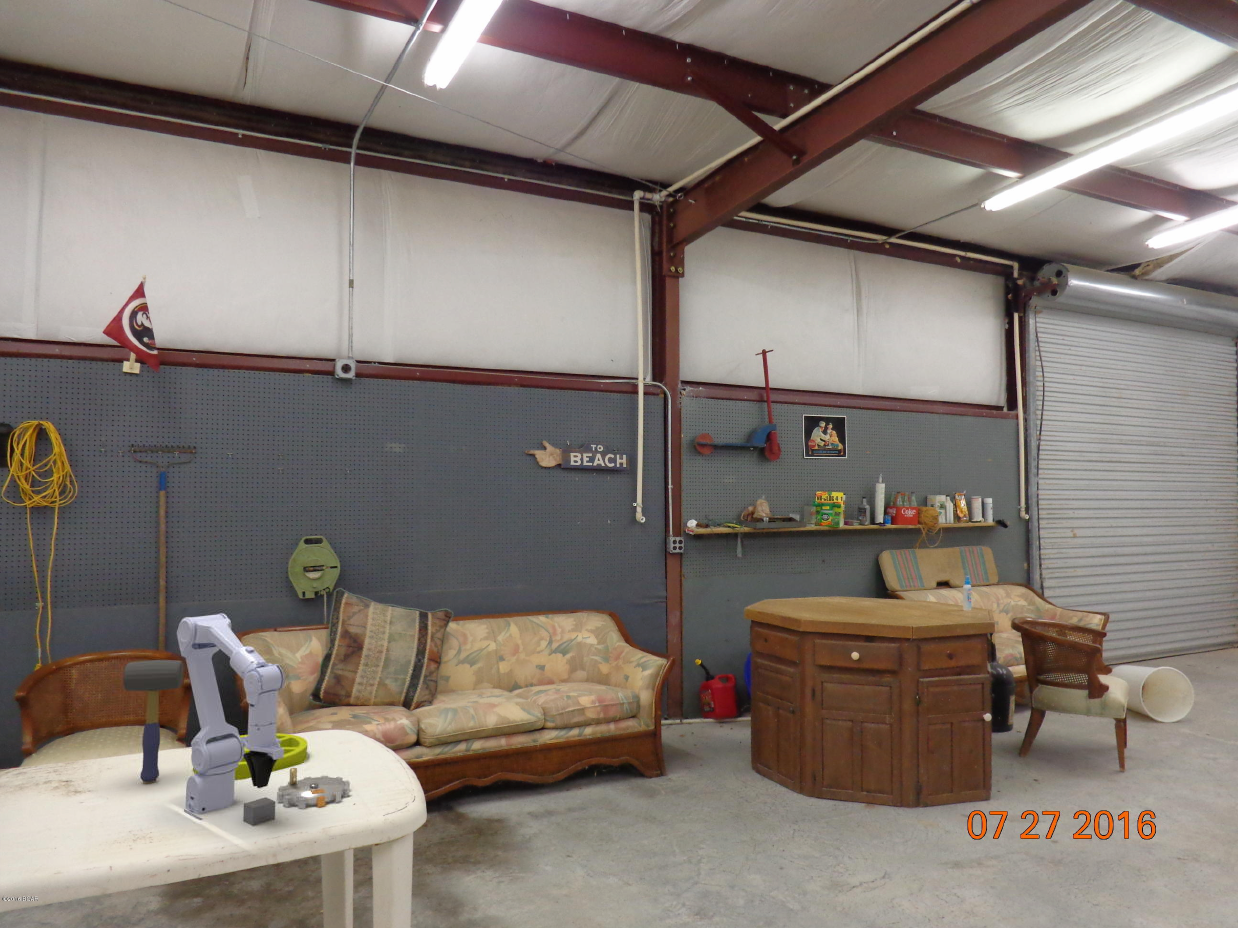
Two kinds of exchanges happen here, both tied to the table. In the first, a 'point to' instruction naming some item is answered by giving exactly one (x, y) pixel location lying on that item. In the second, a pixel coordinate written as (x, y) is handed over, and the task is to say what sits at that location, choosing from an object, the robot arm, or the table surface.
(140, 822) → the table surface
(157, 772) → the rubber mallet
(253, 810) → the link block
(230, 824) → the table surface
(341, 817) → the table surface
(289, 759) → the pulley
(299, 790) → the wheel
